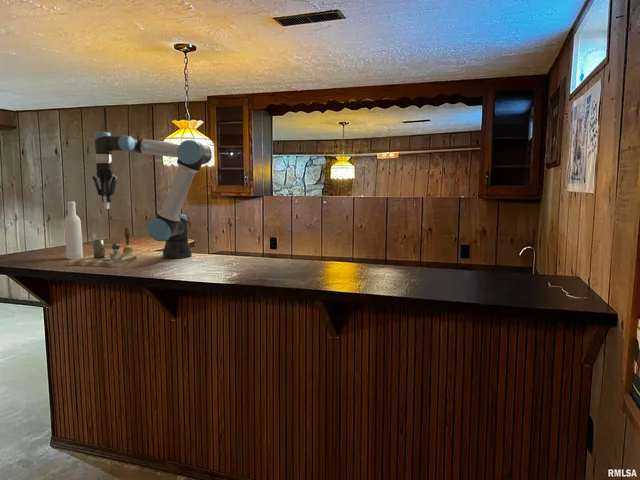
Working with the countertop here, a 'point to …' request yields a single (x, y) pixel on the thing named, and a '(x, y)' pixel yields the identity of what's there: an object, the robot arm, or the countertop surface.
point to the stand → (103, 260)
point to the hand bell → (128, 249)
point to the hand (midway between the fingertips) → (106, 208)
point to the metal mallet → (102, 248)
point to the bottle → (73, 233)
